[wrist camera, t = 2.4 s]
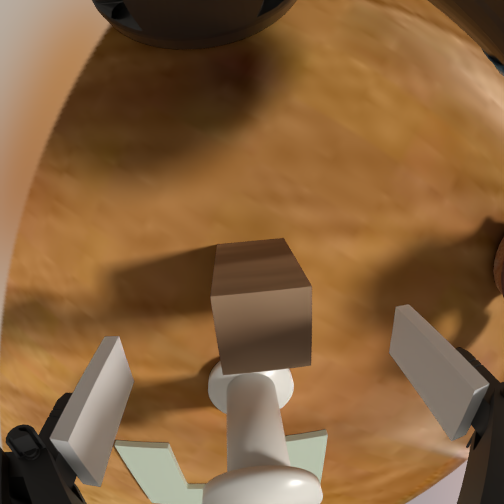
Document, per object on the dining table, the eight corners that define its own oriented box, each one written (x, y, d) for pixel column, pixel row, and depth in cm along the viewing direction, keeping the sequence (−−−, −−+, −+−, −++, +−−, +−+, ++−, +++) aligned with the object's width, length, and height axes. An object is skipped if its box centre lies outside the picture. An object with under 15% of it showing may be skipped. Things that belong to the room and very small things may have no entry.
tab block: (217, 244, 22) (210, 296, 14) (283, 238, 22) (311, 286, 14) (224, 304, 23) (223, 375, 15) (286, 298, 23) (311, 365, 16)
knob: (202, 354, 24) (190, 483, 13) (291, 345, 24) (328, 470, 13) (215, 413, 26) (213, 528, 15) (291, 406, 27) (318, 517, 15)
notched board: (116, 440, 27) (114, 445, 27) (325, 429, 28) (327, 435, 27) (153, 498, 32) (152, 502, 31) (317, 489, 32) (318, 494, 32)
